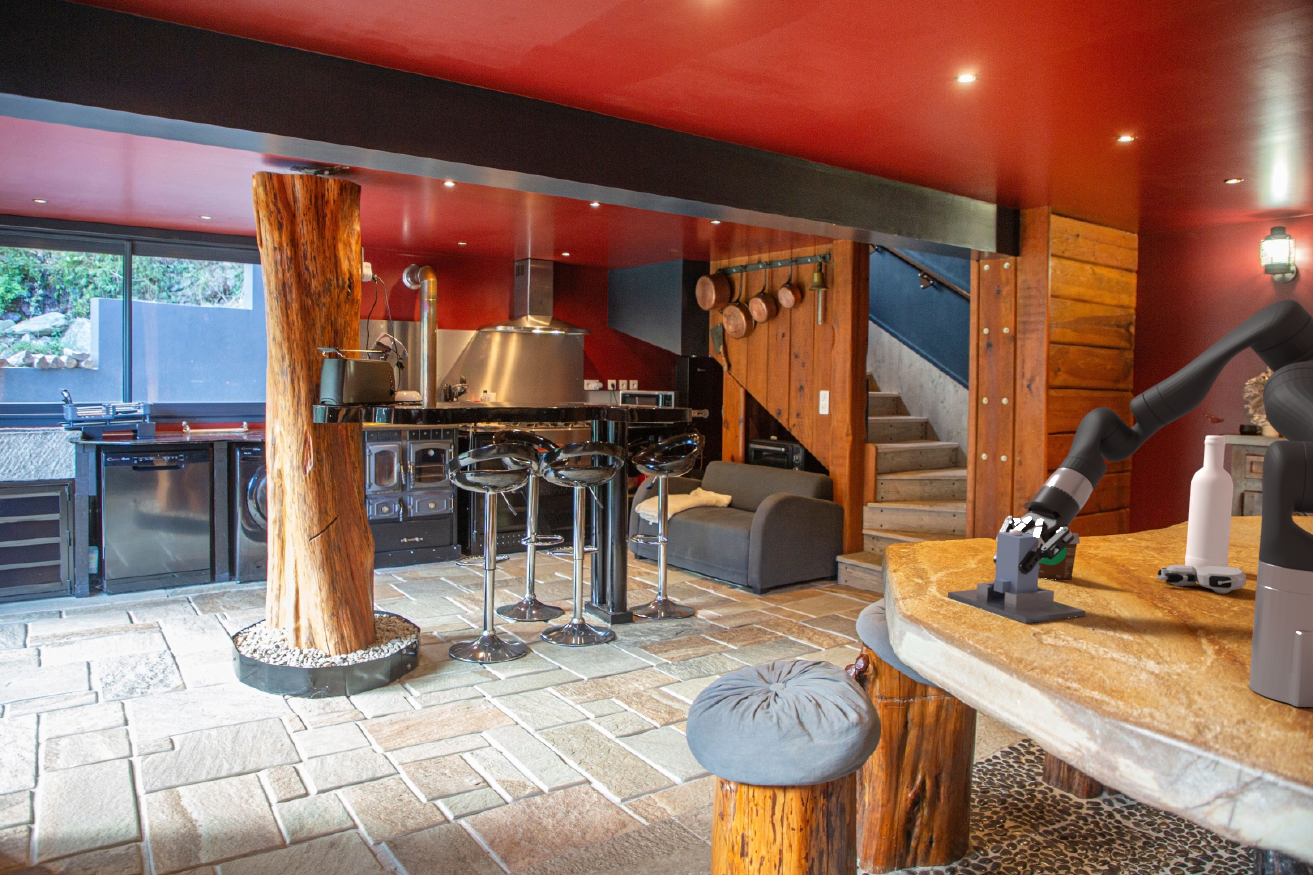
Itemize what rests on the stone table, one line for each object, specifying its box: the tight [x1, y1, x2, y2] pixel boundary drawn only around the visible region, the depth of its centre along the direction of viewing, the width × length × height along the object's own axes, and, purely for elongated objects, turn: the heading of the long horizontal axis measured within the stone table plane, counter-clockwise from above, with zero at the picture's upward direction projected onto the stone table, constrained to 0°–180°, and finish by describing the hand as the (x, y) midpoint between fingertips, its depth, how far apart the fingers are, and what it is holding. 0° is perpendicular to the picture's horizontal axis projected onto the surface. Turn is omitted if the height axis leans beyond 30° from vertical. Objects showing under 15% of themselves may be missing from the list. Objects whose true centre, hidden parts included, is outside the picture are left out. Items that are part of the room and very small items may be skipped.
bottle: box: [1184, 435, 1234, 570], centre depth 187 cm, size 8×8×30 cm
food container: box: [1038, 532, 1081, 581], centre depth 178 cm, size 12×6×10 cm, turn 25°
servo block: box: [993, 529, 1040, 594], centre depth 152 cm, size 5×7×11 cm
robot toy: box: [1156, 564, 1247, 595], centre depth 172 cm, size 12×4×15 cm
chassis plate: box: [947, 581, 1086, 624], centre depth 152 cm, size 18×14×4 cm
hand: (1009, 567), depth 151 cm, fingers closed on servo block, 5 cm apart
